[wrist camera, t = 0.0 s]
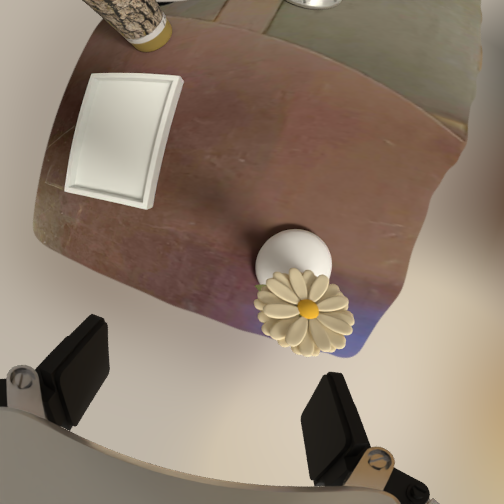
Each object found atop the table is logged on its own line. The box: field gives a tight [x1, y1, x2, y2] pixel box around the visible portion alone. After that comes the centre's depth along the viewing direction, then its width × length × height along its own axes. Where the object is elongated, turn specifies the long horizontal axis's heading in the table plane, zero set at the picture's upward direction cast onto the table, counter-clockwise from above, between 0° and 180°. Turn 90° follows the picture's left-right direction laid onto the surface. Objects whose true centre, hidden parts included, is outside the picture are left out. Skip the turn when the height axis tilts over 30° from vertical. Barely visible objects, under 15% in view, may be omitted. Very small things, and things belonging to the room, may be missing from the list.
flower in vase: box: [254, 229, 354, 357], centre depth 30 cm, size 13×11×25 cm
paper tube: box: [83, 0, 172, 52], centre depth 20 cm, size 7×7×25 cm
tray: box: [64, 73, 184, 210], centre depth 35 cm, size 20×16×2 cm
